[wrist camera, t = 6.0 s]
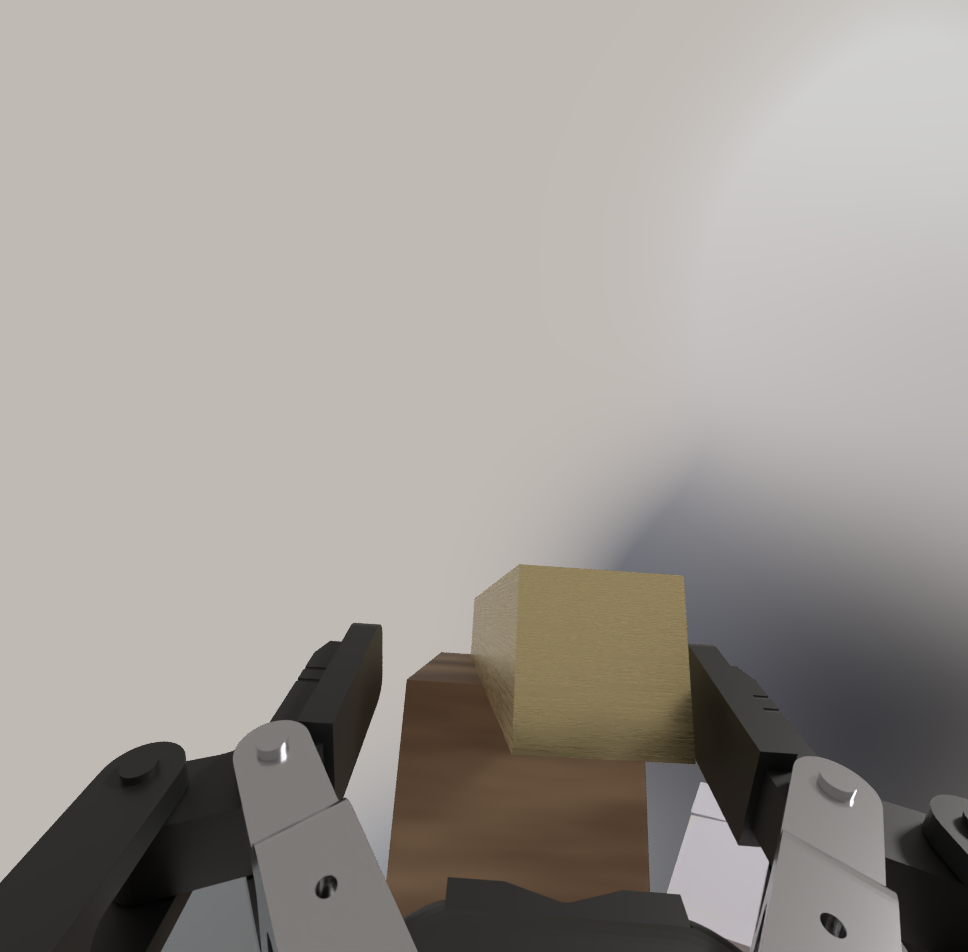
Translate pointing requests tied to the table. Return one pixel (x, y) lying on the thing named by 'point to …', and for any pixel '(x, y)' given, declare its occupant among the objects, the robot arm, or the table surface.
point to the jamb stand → (504, 803)
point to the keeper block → (215, 921)
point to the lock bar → (587, 663)
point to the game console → (718, 874)
